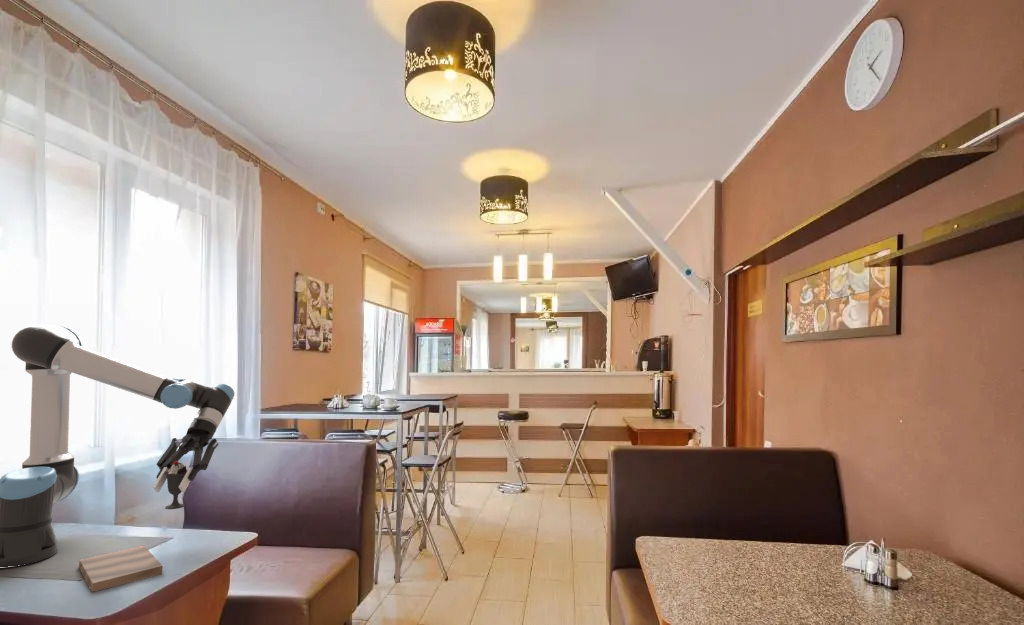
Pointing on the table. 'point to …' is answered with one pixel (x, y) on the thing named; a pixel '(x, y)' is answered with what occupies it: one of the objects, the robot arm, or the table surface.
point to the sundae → (175, 482)
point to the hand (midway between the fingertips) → (168, 489)
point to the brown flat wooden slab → (119, 567)
